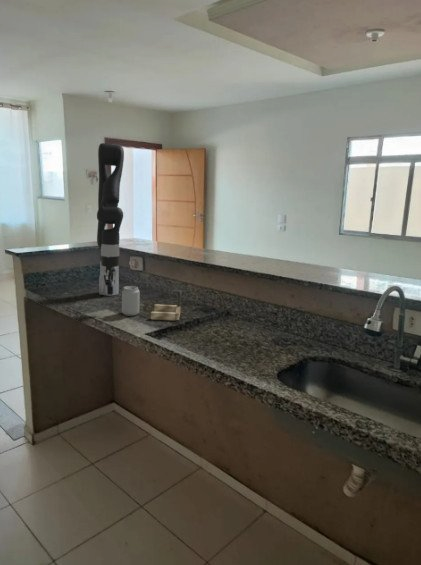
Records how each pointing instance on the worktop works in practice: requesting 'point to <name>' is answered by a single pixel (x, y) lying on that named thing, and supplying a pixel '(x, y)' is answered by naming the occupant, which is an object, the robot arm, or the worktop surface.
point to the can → (130, 300)
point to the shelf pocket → (167, 310)
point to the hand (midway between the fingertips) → (110, 294)
